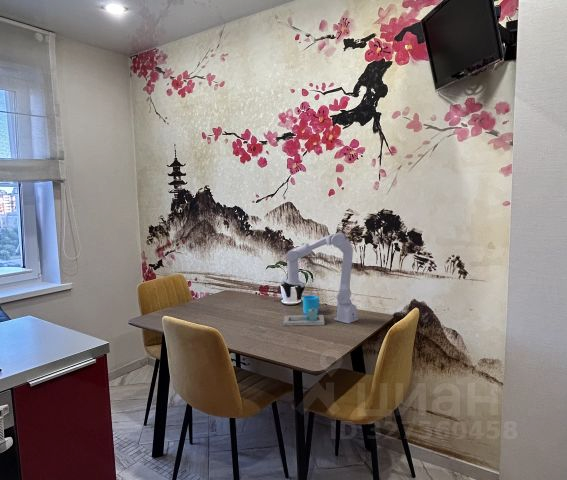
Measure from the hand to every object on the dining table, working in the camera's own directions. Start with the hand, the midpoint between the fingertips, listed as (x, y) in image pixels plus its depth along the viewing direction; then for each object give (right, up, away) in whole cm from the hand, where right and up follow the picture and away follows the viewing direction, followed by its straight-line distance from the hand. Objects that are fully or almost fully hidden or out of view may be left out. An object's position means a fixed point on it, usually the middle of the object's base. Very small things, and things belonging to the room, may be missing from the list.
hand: (293, 298), depth 207 cm
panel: (+5, -11, -7) cm, 14 cm away
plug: (+9, -11, -7) cm, 16 cm away
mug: (+11, -9, +11) cm, 17 cm away
